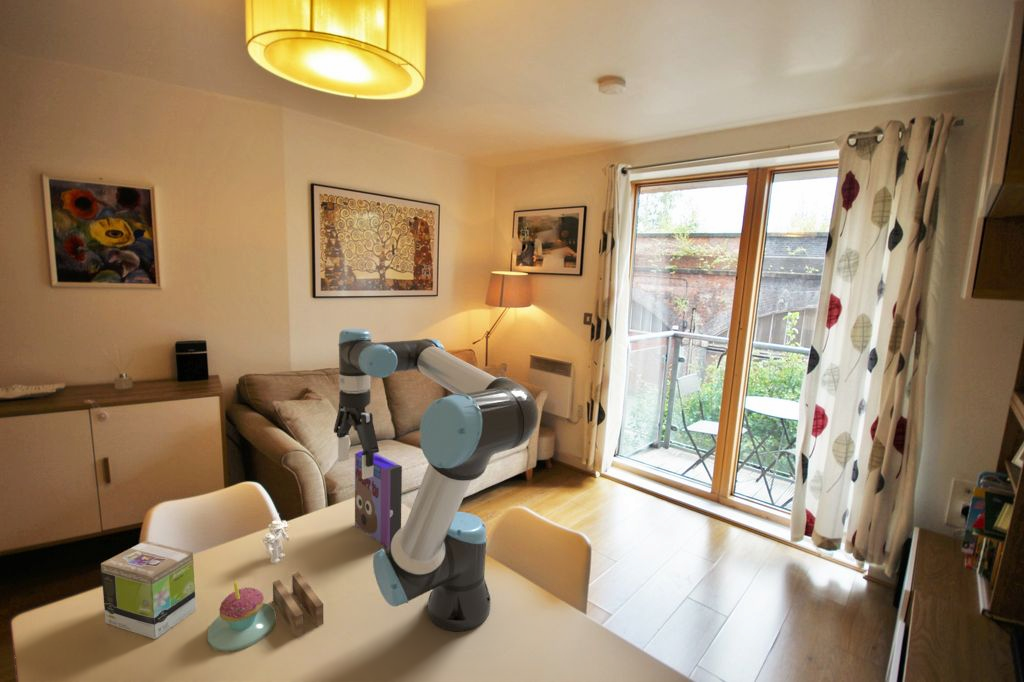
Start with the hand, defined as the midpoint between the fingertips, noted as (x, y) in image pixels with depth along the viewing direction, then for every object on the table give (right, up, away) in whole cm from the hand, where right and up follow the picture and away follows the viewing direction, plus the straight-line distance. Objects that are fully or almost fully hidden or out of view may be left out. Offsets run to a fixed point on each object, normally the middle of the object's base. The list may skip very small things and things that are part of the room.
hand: (355, 468), depth 120 cm
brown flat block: (-8, -30, -11) cm, 33 cm away
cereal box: (-1, -26, +22) cm, 34 cm away
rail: (-11, -31, -14) cm, 35 cm away
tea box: (-41, -30, -15) cm, 53 cm away
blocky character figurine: (-24, -27, +7) cm, 37 cm away
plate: (-19, -31, -18) cm, 40 cm away
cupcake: (-19, -30, -18) cm, 39 cm away
